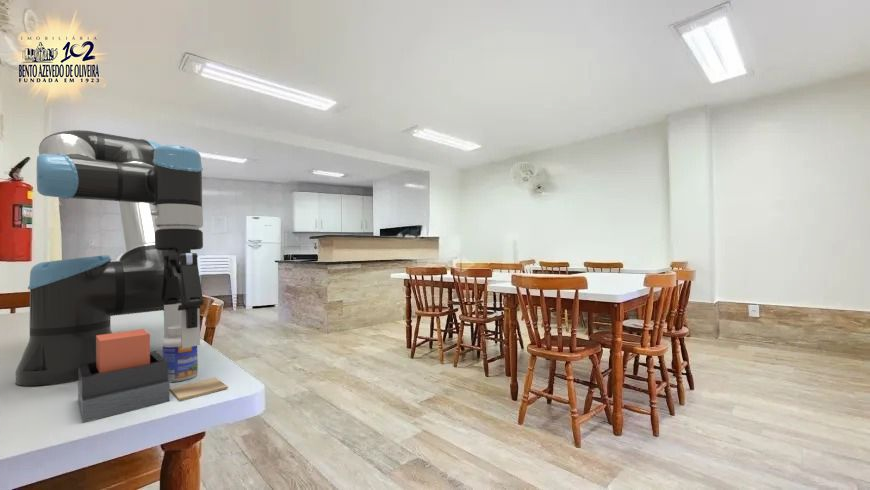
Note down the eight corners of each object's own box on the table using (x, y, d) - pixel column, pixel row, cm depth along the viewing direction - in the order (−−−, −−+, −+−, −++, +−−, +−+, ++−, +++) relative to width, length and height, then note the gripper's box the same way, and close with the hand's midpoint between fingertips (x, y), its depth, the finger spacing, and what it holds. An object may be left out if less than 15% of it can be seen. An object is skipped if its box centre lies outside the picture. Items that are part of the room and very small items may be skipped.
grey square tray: (78, 400, 60) (77, 362, 60) (154, 383, 67) (154, 350, 67) (82, 422, 52) (82, 379, 52) (169, 400, 59) (169, 362, 59)
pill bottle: (180, 383, 67) (179, 329, 67) (155, 382, 68) (154, 328, 68) (204, 373, 72) (204, 323, 72) (181, 372, 73) (180, 323, 73)
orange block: (96, 366, 59) (96, 335, 59) (143, 358, 64) (143, 329, 64) (99, 374, 55) (99, 341, 55) (149, 365, 60) (149, 333, 60)
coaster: (169, 390, 63) (169, 388, 63) (215, 379, 68) (215, 377, 68) (179, 401, 58) (179, 398, 58) (227, 388, 64) (227, 386, 64)
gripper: (143, 233, 76) (144, 336, 76) (170, 222, 59) (172, 356, 58) (185, 233, 82) (187, 330, 81) (222, 224, 65) (224, 346, 64)
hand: (181, 341), depth 70 cm, fingers open, 13 cm apart
